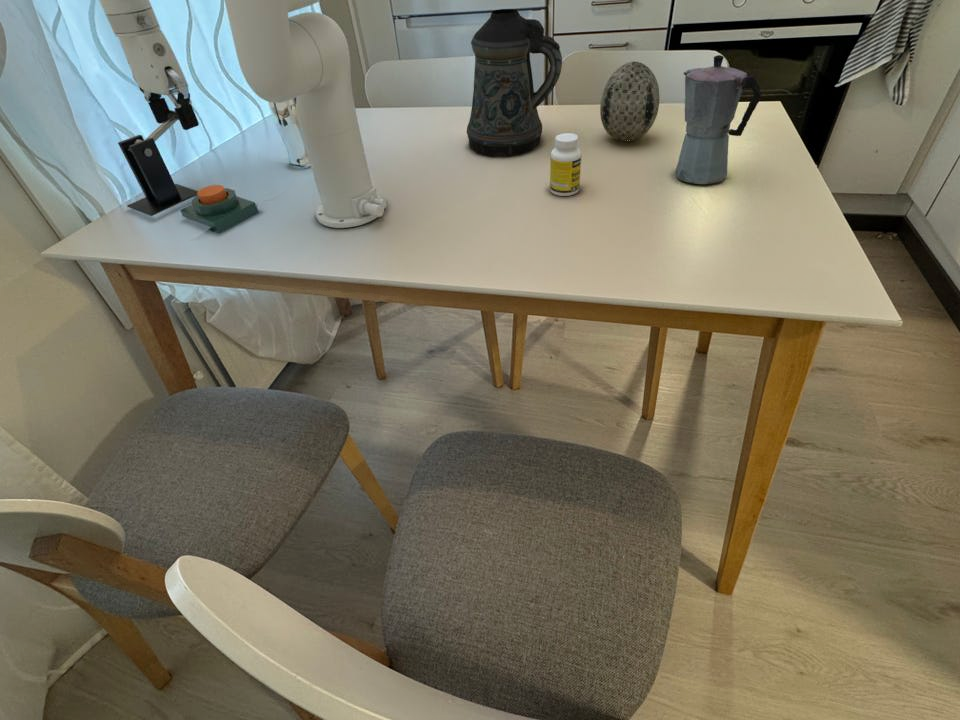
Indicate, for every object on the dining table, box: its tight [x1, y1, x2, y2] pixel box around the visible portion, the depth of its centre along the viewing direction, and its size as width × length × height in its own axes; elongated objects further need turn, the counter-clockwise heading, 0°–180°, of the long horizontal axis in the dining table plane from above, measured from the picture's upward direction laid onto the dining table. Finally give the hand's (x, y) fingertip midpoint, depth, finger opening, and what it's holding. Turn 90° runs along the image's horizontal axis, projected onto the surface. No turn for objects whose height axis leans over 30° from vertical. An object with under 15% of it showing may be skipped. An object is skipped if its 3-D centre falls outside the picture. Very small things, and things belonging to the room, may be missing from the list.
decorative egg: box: [599, 61, 661, 143], centre depth 112 cm, size 12×12×15 cm
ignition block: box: [180, 187, 259, 235], centre depth 103 cm, size 11×9×4 cm
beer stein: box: [466, 8, 563, 158], centre depth 113 cm, size 16×19×25 cm
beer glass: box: [267, 98, 311, 169], centre depth 117 cm, size 7×7×15 cm
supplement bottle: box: [549, 132, 582, 197], centre depth 98 cm, size 5×5×10 cm
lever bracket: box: [117, 134, 199, 217], centre depth 107 cm, size 11×9×13 cm
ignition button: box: [196, 184, 227, 204], centre depth 102 cm, size 5×5×2 cm
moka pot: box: [675, 54, 762, 185], centre depth 95 cm, size 10×15×20 cm, turn 36°
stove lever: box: [127, 109, 179, 155], centre depth 105 cm, size 12×6×2 cm, turn 144°
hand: (178, 124), depth 108 cm, fingers open, 8 cm apart
